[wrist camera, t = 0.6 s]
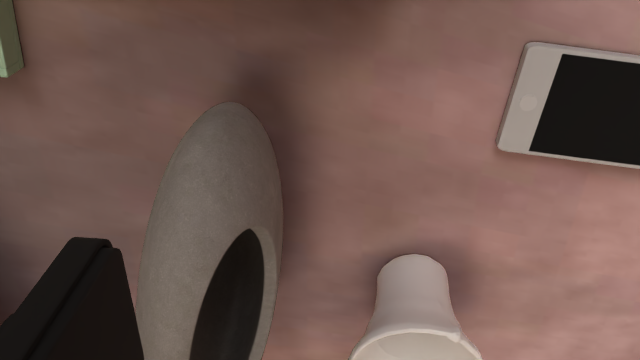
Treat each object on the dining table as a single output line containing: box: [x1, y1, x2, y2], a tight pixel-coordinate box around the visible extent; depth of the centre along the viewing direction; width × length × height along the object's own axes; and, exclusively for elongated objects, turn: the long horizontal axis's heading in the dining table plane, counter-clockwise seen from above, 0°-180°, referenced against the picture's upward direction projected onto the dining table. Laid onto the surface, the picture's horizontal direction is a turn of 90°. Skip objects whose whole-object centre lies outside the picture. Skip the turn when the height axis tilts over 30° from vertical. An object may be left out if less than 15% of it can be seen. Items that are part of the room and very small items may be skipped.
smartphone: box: [496, 42, 640, 169], centre depth 35 cm, size 7×15×1 cm, turn 84°
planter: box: [136, 102, 283, 360], centre depth 33 cm, size 18×7×19 cm, turn 176°
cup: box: [348, 254, 483, 360], centre depth 40 cm, size 9×9×10 cm
